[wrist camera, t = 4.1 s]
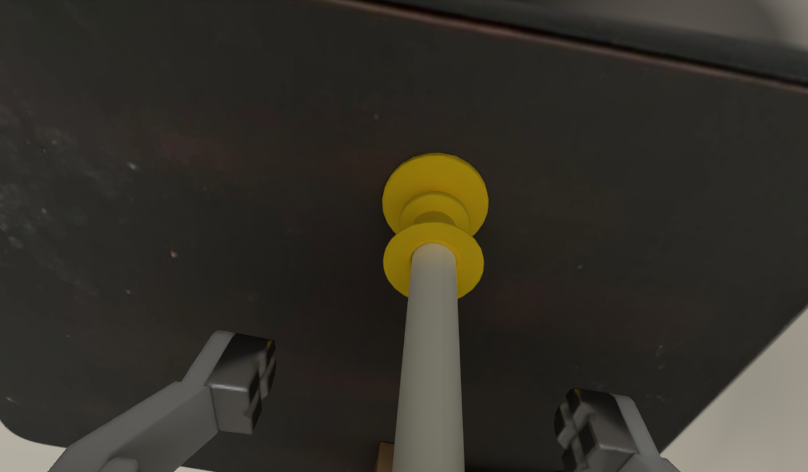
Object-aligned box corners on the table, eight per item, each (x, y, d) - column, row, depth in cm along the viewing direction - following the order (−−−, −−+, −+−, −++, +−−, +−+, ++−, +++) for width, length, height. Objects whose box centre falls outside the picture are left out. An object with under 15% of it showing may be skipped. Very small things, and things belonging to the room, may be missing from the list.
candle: (466, 134, 17) (541, 566, 4) (501, 225, 20) (617, 682, 7) (365, 175, 19) (196, 590, 6) (409, 256, 21) (358, 678, 8)
